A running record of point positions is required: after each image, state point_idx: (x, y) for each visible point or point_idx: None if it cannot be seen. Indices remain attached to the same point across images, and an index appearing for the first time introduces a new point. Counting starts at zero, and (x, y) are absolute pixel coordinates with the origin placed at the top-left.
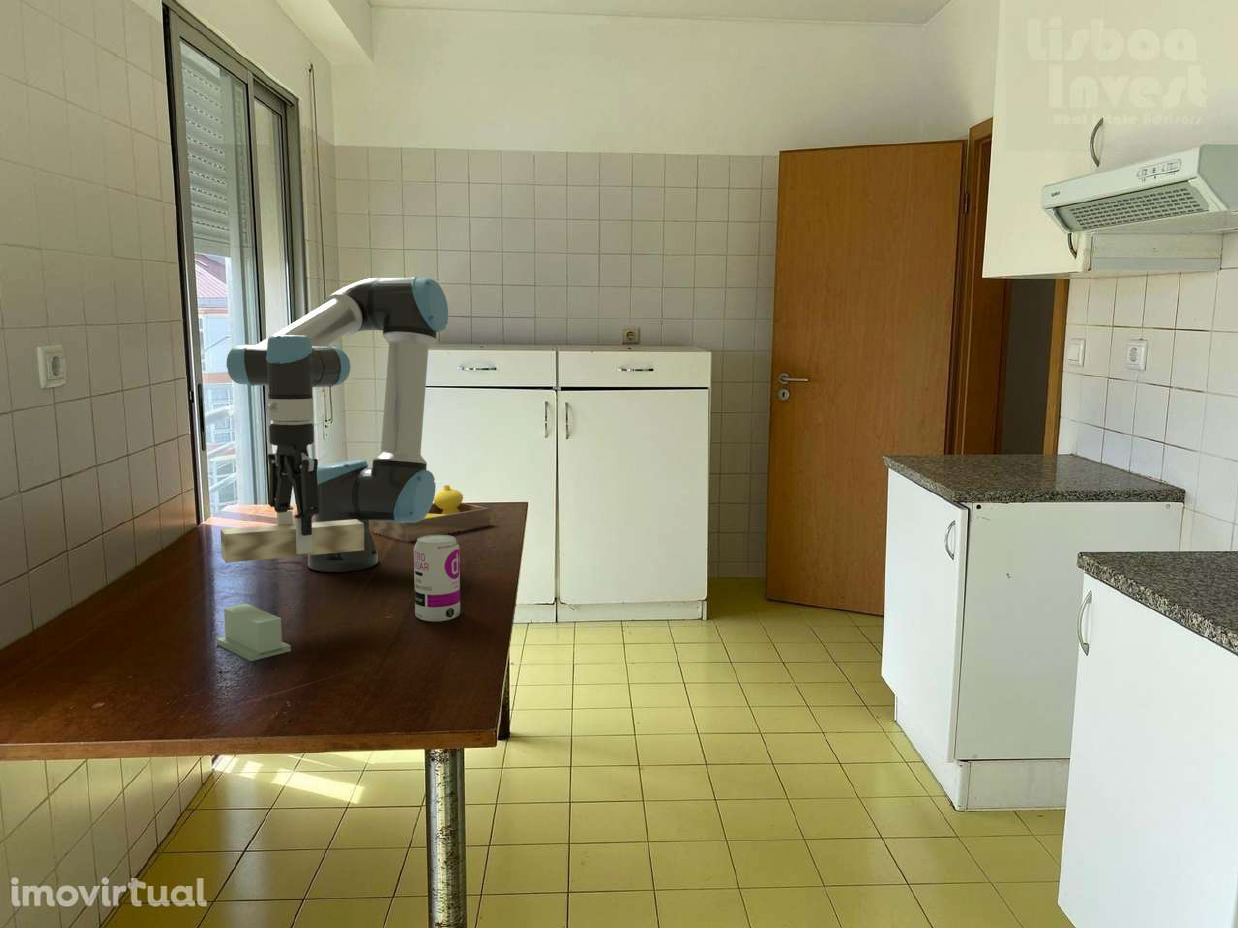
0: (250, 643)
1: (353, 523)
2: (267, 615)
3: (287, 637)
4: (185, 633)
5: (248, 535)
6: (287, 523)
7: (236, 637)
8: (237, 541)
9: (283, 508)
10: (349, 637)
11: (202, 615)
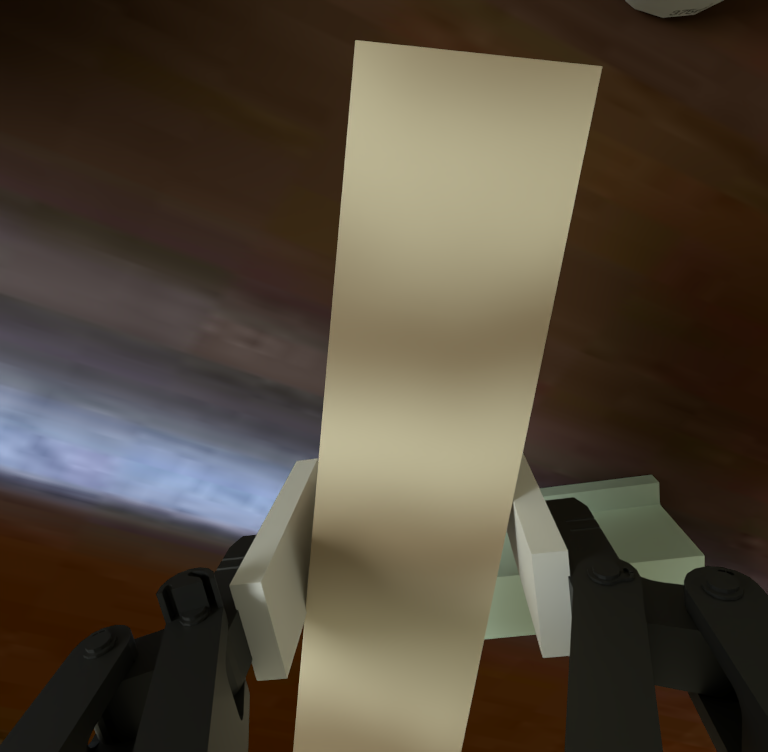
0: None
1: (537, 150)
2: (644, 574)
3: (532, 443)
4: None
5: None
6: (293, 564)
7: None
8: None
9: (236, 657)
10: (657, 303)
11: (201, 549)
